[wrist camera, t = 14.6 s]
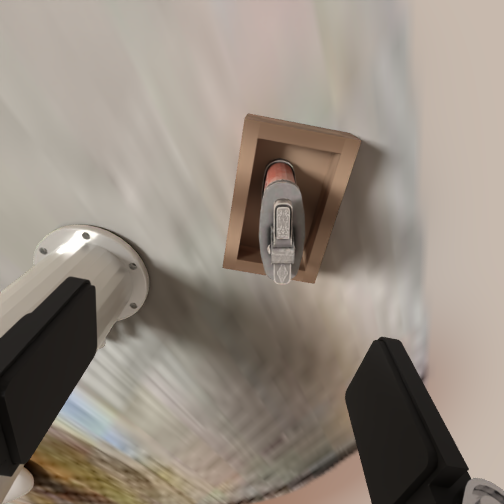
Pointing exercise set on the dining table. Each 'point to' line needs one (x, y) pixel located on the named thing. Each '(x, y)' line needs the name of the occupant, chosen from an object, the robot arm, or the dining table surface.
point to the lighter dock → (308, 180)
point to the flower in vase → (20, 486)
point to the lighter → (281, 222)
